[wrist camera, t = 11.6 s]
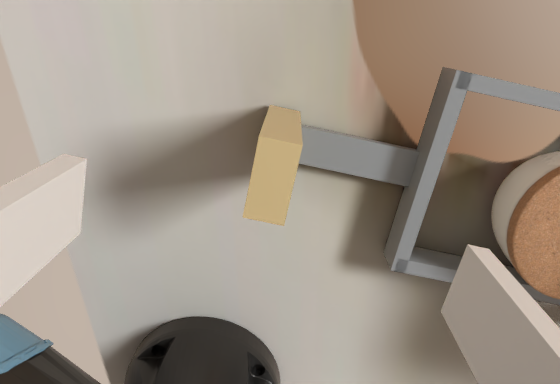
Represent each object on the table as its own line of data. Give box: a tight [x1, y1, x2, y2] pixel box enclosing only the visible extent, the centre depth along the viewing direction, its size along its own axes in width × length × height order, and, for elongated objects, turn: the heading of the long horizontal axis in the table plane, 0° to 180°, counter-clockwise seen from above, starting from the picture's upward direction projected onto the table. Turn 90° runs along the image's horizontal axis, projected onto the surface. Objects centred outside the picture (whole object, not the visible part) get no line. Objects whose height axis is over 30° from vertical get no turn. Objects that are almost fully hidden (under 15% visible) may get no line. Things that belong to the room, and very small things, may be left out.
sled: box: [243, 67, 560, 305], centre depth 32 cm, size 16×30×12 cm, turn 78°
